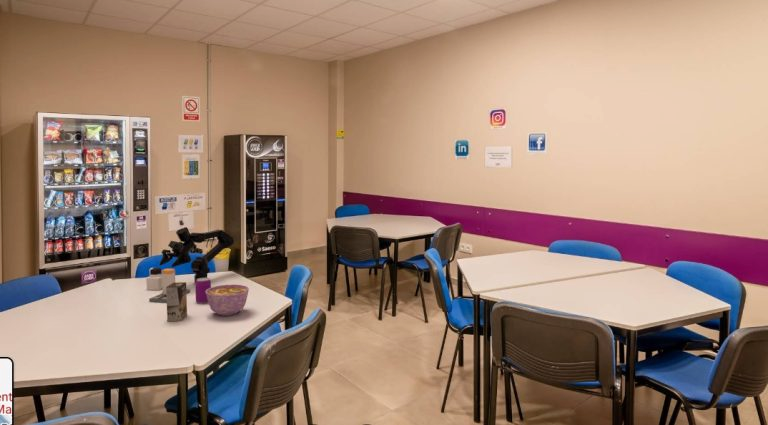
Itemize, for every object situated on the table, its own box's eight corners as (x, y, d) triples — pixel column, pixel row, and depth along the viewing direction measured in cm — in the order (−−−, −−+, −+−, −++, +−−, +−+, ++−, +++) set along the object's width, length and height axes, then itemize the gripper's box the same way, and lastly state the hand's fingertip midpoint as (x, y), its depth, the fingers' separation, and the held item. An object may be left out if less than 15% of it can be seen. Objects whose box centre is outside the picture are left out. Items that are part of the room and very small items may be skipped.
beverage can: (214, 300, 255) (214, 278, 254) (203, 304, 248) (202, 281, 247) (203, 298, 258) (203, 276, 257) (192, 302, 251) (191, 280, 250)
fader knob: (167, 292, 262) (166, 268, 261) (175, 292, 261) (174, 269, 260) (162, 294, 258) (161, 270, 257) (171, 294, 258) (170, 270, 256)
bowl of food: (215, 306, 246) (214, 283, 245) (254, 307, 245) (254, 284, 244) (199, 319, 226) (198, 295, 225) (241, 320, 225) (241, 296, 224)
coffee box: (181, 321, 223) (180, 287, 221) (166, 321, 222) (165, 287, 221) (187, 314, 232) (186, 282, 230) (173, 315, 232) (172, 282, 230)
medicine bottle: (165, 287, 280) (164, 266, 279) (158, 290, 273) (157, 269, 272) (153, 286, 281) (152, 266, 279) (146, 290, 274) (145, 269, 272)
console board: (173, 291, 272) (173, 288, 272) (190, 292, 271) (189, 289, 270) (149, 301, 252) (149, 298, 252) (166, 303, 250) (166, 299, 250)
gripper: (167, 235, 278) (147, 252, 267) (191, 238, 270) (171, 256, 259) (175, 250, 284) (156, 268, 273) (199, 253, 276) (180, 271, 265)
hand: (165, 265), depth 267 cm, fingers open, 9 cm apart
